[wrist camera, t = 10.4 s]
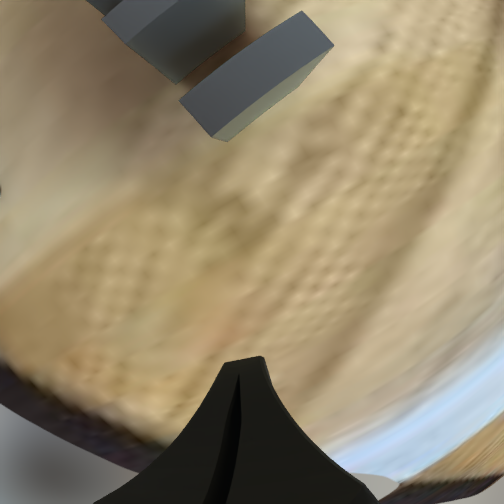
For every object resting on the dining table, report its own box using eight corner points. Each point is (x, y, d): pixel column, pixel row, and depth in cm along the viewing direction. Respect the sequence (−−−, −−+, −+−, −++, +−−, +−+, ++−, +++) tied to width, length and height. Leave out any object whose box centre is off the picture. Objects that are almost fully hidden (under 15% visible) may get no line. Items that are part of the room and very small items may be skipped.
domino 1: (175, 84, 16) (125, 44, 8) (158, 66, 16) (101, 19, 8) (245, 30, 15) (244, -41, 7) (227, 13, 15) (215, -63, 7)
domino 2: (227, 142, 17) (211, 137, 9) (208, 120, 17) (178, 100, 9) (297, 87, 16) (334, 45, 8) (279, 66, 16) (301, 10, 8)
